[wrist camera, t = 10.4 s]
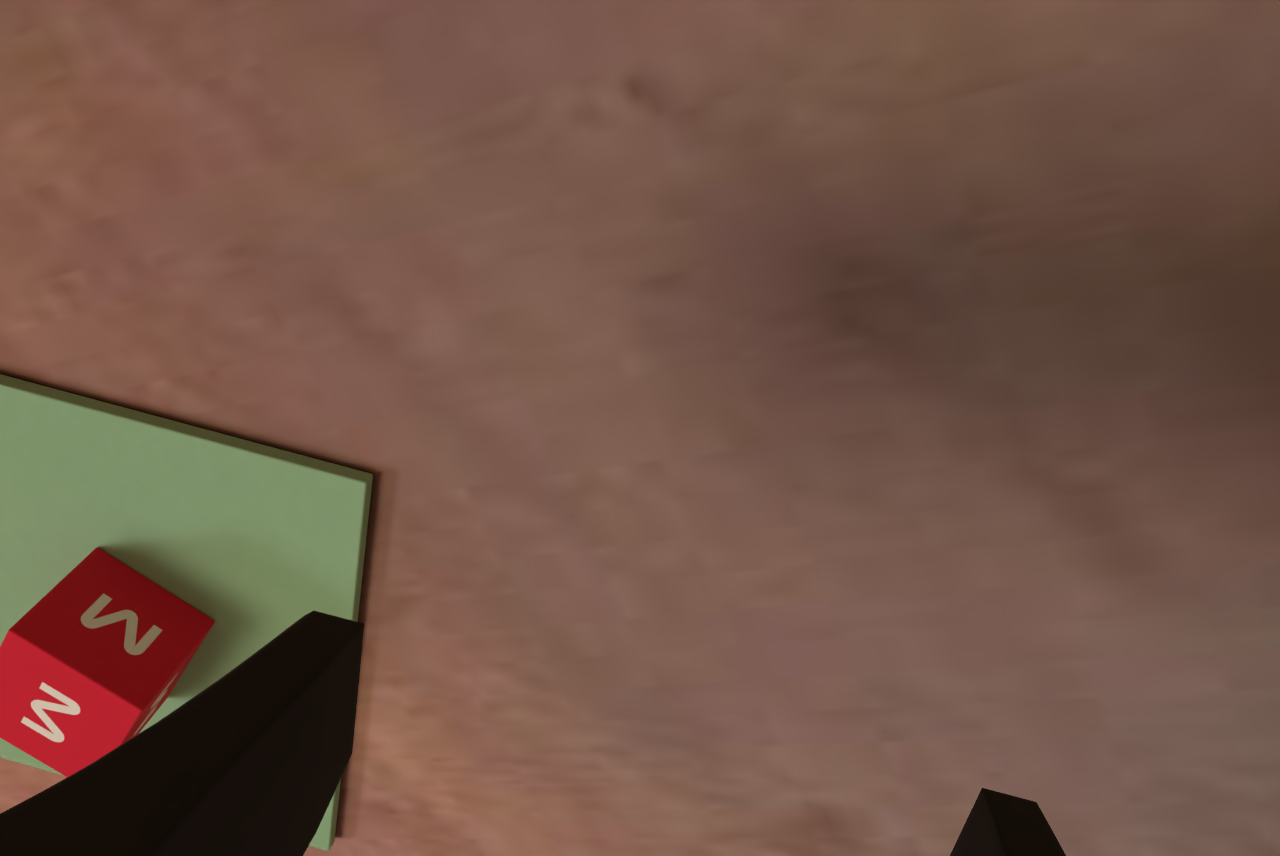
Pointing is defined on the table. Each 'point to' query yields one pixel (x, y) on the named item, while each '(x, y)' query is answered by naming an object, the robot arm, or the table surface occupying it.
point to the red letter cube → (93, 663)
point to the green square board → (176, 526)
